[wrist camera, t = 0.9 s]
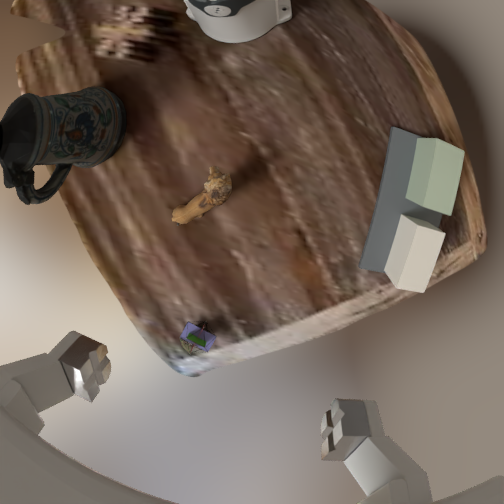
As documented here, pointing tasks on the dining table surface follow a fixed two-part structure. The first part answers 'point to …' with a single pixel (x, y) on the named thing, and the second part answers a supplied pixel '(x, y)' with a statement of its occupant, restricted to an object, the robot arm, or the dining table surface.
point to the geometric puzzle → (196, 337)
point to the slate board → (393, 201)
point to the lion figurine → (205, 197)
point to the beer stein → (58, 137)
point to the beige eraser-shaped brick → (413, 253)
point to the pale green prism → (435, 175)
